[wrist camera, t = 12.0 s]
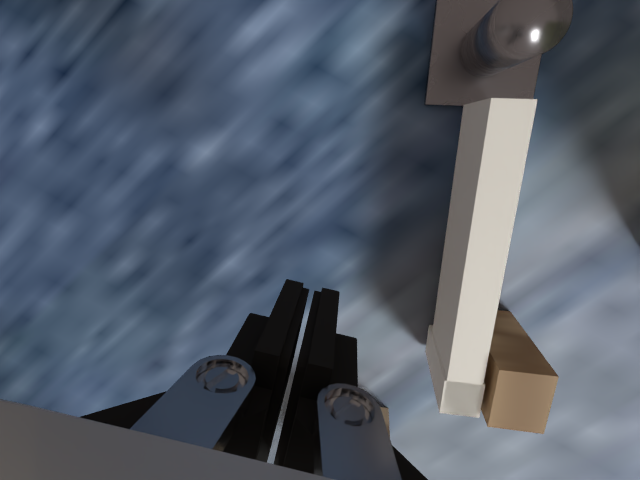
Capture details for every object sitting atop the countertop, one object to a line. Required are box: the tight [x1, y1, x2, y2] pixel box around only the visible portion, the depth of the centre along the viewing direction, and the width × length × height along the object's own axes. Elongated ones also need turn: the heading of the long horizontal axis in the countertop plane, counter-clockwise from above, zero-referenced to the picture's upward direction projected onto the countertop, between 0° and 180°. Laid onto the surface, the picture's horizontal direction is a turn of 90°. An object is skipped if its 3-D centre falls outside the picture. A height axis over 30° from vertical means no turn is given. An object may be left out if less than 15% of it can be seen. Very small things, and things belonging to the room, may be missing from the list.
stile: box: [481, 310, 558, 434], centre depth 20 cm, size 3×3×6 cm
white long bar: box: [425, 98, 537, 418], centre depth 18 cm, size 14×2×5 cm, turn 178°
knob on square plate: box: [425, 0, 573, 106], centre depth 15 cm, size 5×5×6 cm
